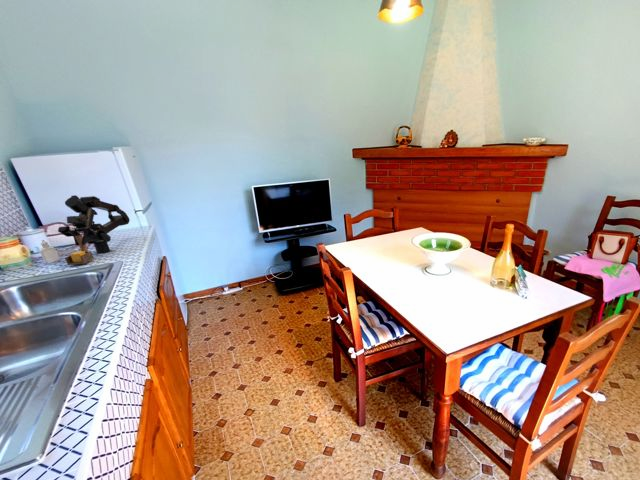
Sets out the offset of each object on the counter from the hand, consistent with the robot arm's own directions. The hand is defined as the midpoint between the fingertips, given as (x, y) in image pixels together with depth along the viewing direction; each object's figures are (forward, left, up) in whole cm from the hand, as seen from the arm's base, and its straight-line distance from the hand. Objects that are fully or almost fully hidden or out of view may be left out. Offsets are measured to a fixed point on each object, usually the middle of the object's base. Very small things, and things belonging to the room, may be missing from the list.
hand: (79, 245), depth 146 cm
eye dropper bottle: (-19, -6, -9) cm, 22 cm away
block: (+2, -3, -7) cm, 8 cm away
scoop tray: (+1, -2, -8) cm, 8 cm away
